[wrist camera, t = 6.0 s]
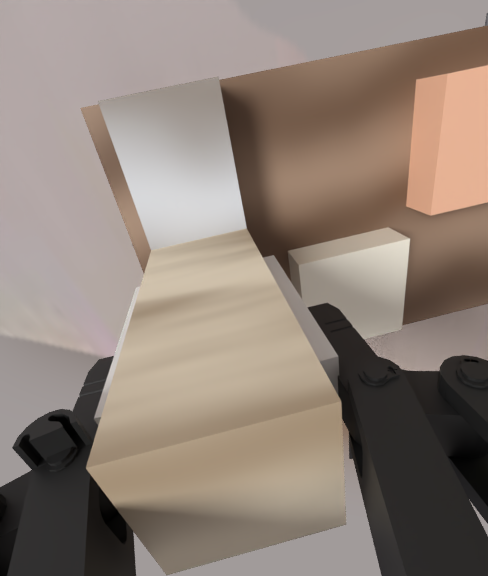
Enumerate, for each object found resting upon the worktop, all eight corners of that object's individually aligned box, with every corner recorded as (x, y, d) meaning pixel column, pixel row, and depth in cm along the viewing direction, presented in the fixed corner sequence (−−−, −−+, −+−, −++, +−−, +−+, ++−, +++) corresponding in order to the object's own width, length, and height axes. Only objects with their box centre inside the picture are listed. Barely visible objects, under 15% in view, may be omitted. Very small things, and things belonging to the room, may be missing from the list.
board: (445, 271, 26) (496, 301, 22) (185, 335, 25) (184, 380, 21) (483, 35, 18) (574, 8, 14) (107, 111, 17) (80, 108, 13)
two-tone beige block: (268, 363, 21) (349, 608, 10) (204, 379, 21) (220, 646, 10) (214, 82, 13) (321, -89, 2) (110, 104, 13) (-259, 14, 2)
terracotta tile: (505, 183, 18) (540, 189, 16) (406, 206, 17) (430, 215, 16) (535, 54, 15) (581, 45, 13) (416, 79, 14) (447, 73, 13)
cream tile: (383, 312, 21) (401, 329, 19) (297, 333, 20) (307, 353, 19) (388, 227, 18) (409, 238, 16) (287, 250, 17) (298, 264, 16)
